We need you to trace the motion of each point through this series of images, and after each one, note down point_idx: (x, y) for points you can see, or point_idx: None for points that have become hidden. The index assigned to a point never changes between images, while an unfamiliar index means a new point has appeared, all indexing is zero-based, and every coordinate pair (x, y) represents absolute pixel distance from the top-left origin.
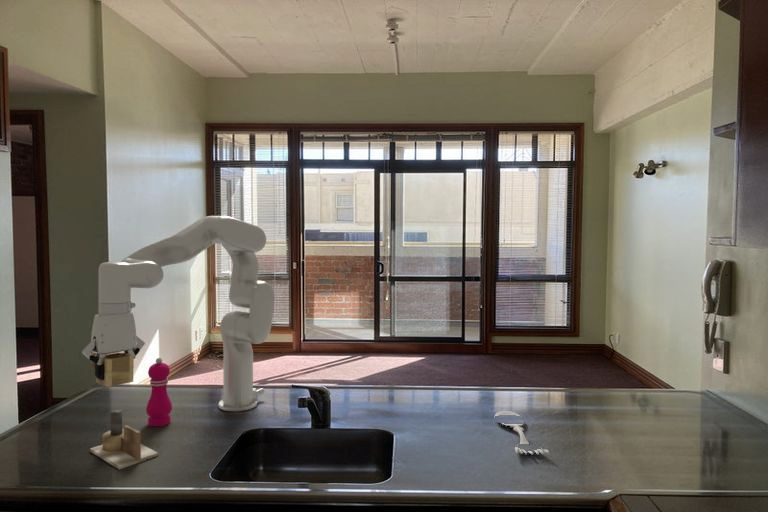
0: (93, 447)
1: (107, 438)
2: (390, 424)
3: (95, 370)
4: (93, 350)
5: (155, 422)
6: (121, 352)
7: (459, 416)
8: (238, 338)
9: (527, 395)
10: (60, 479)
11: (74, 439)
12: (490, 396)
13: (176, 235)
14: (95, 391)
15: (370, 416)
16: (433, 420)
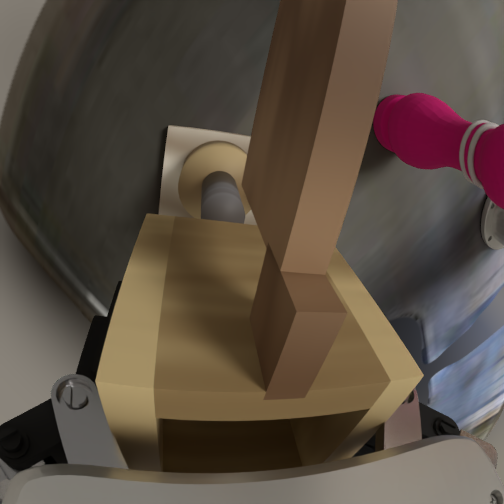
0: (177, 127)
1: (180, 198)
2: (441, 400)
3: (87, 347)
4: (36, 482)
5: (381, 137)
6: (388, 405)
7: (458, 413)
8: None
9: (495, 406)
10: (58, 220)
11: (199, 8)
12: (498, 395)
13: None
14: None
15: (463, 377)
16: (450, 410)
